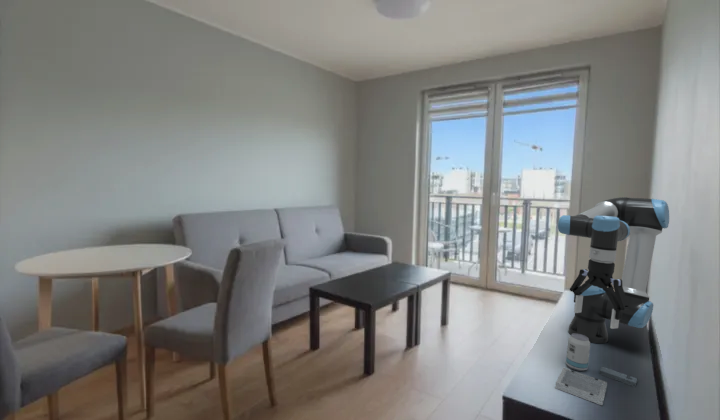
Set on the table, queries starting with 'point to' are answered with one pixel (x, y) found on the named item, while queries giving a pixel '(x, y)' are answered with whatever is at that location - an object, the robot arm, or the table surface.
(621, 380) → the bracket
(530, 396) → the table surface
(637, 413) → the table surface
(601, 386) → the rail plate
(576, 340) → the beverage can
